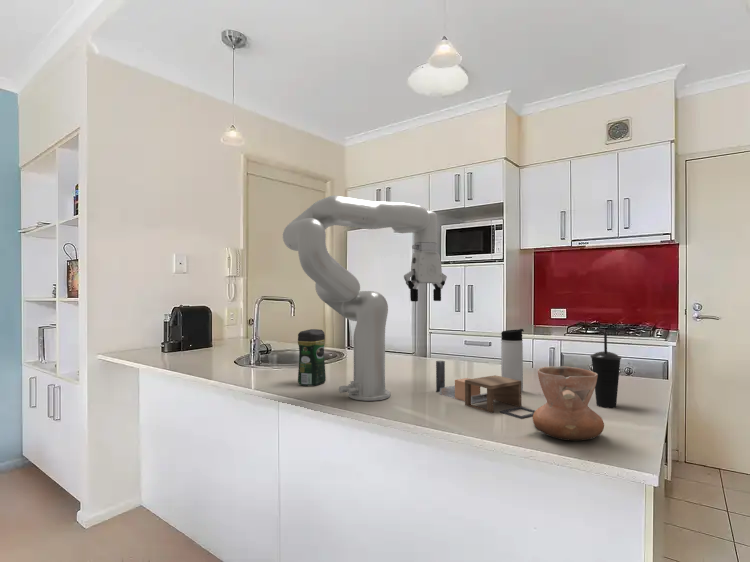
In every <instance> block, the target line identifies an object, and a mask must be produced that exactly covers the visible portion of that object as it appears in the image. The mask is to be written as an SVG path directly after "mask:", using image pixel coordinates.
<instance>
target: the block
mask: <svg viewBox="0 0 750 562" xmlns="http://www.w3.org/2000/svg"><path fill="white" fill-rule="evenodd" d="M468 379H471V378H469V377H465V378H458V379H454V386H455V398H459V399H462V400H465V380H468ZM479 394H481V387H480V386H475V385H471V396H473V395H479Z"/></svg>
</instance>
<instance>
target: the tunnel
mask: <svg viewBox="0 0 750 562" xmlns="http://www.w3.org/2000/svg"><path fill="white" fill-rule="evenodd" d="M471 385H475V386H480V388H485V389H486V393H487V401H486V408H484V407H481V406H477V405H475V404H471ZM494 401H497V402H501V403H505V404H508V405H512V406H515V407H523V406H522V403H523V402H522V392H521V381H520V380H515V379H510V378H506V377H502V375H497V374H495V375H489V376H481V377H477V378H470V379H468V380H465V402H464V405H465V406H467V407H471V408H475V409H477V410H481V411H484V412H487V413H491V414H492V413H494V411H495V410H494Z"/></svg>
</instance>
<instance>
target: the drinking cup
mask: <svg viewBox="0 0 750 562" xmlns="http://www.w3.org/2000/svg"><path fill="white" fill-rule="evenodd" d="M603 344H604V345H603V351H598V352H595V353H593V354H590V358H591V365H592V372H595V373H597V374H598V377H597V382H596V386H595V389H594V392H595V402H596V406H598V405H599V406H598V407H600V406H602V407H601V408H606V407H609V408H608V409H610V408H611V409H614V408H613V407H615V408H617V400H618V389H619V379H620V378H619V377H620V368H621V367H620V366H621V360H622V356H620V355H619V354H616V353H614V352H610V351H608V333H607V332H604V333H603Z"/></svg>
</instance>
